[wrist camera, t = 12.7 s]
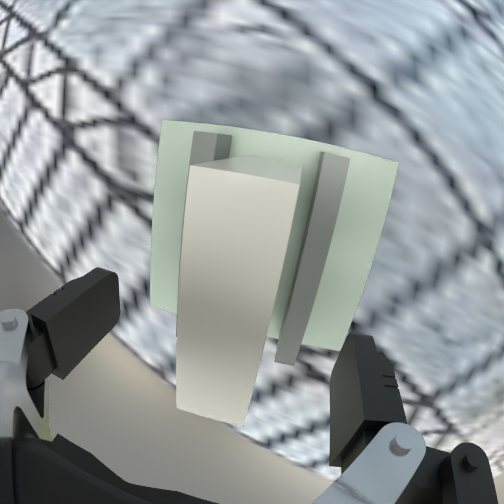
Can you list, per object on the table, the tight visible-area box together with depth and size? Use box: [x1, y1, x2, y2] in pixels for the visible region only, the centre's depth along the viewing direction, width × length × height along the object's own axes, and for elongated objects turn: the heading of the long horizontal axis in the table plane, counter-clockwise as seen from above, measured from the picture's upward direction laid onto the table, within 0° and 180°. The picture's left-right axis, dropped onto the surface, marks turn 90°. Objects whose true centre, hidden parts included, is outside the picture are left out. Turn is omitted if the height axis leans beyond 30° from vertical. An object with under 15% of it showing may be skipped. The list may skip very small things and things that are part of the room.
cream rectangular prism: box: [176, 155, 302, 426], centre depth 14 cm, size 3×10×9 cm, turn 171°
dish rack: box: [150, 120, 399, 366], centre depth 17 cm, size 14×13×4 cm
